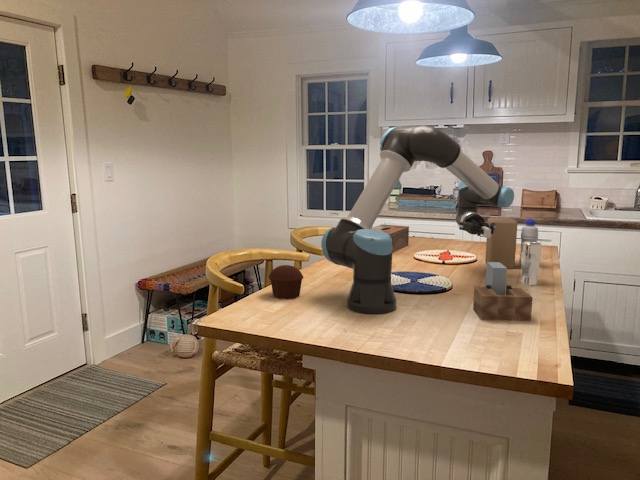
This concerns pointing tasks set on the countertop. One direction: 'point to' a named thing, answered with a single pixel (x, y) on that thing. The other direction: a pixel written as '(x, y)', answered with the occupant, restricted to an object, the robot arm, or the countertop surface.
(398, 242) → the tissue box cover
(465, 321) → the countertop surface
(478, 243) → the countertop surface
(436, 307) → the countertop surface
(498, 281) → the peg
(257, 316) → the countertop surface
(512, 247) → the wooden block
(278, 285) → the muffin
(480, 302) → the socket block
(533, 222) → the bottle
